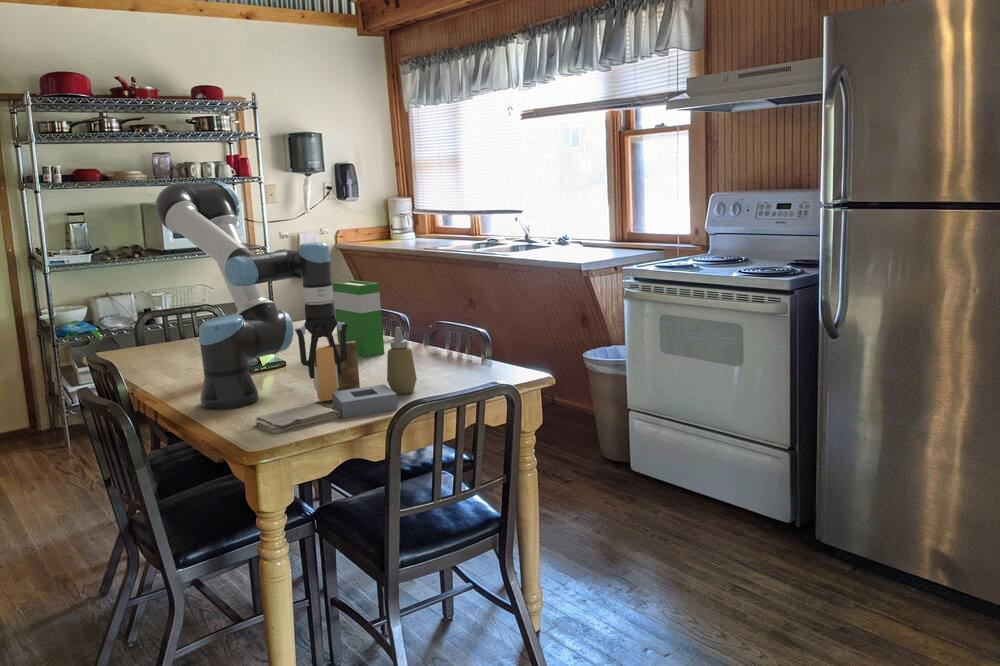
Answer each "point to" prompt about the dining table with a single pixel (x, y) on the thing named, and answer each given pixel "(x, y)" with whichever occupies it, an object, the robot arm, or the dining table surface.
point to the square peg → (325, 372)
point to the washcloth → (296, 418)
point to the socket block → (364, 400)
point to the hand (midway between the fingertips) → (326, 388)
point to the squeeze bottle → (400, 365)
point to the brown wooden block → (348, 368)
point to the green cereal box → (360, 315)
